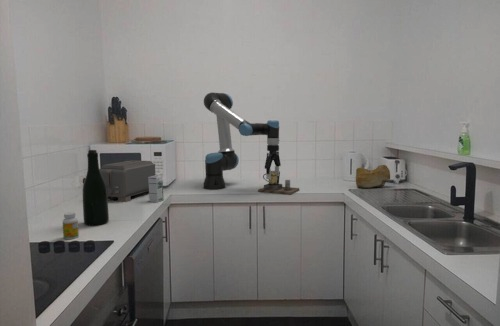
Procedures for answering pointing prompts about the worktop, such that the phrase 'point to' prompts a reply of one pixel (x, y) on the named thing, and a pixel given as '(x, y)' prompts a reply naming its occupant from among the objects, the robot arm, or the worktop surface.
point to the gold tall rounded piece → (273, 179)
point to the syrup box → (155, 188)
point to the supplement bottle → (70, 226)
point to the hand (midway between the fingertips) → (272, 177)
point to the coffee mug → (277, 176)
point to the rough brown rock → (372, 177)
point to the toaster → (127, 178)
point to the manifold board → (279, 189)
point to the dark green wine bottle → (94, 193)
